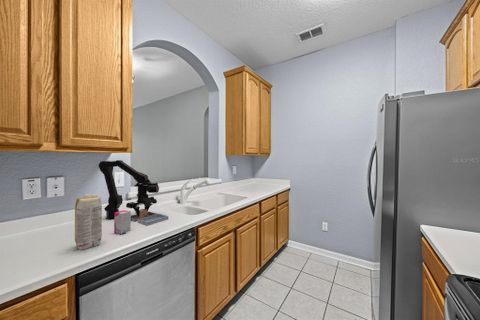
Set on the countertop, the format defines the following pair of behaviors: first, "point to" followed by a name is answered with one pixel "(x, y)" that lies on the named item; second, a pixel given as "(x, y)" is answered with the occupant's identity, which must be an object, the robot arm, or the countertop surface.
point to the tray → (152, 219)
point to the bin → (134, 217)
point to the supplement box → (122, 222)
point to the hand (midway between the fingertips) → (142, 215)
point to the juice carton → (88, 221)
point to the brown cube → (143, 213)
